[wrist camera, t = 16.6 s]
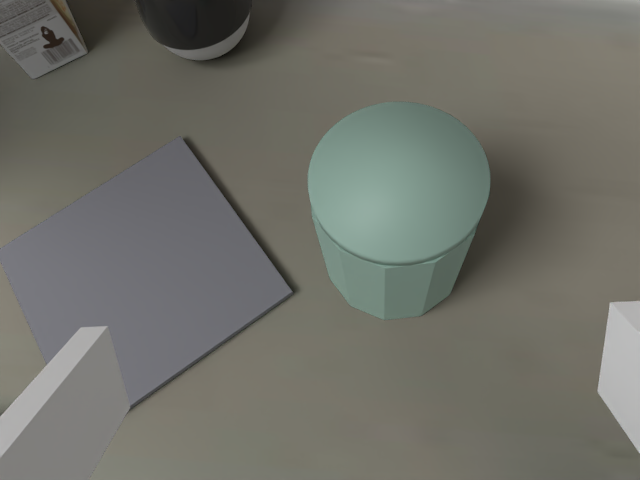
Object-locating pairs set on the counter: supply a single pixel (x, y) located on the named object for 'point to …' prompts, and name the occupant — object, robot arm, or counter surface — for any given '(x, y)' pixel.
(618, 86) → the counter surface
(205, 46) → the black egg-shaped device
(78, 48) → the coffee box
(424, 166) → the faceted lidded jar
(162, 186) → the mat
